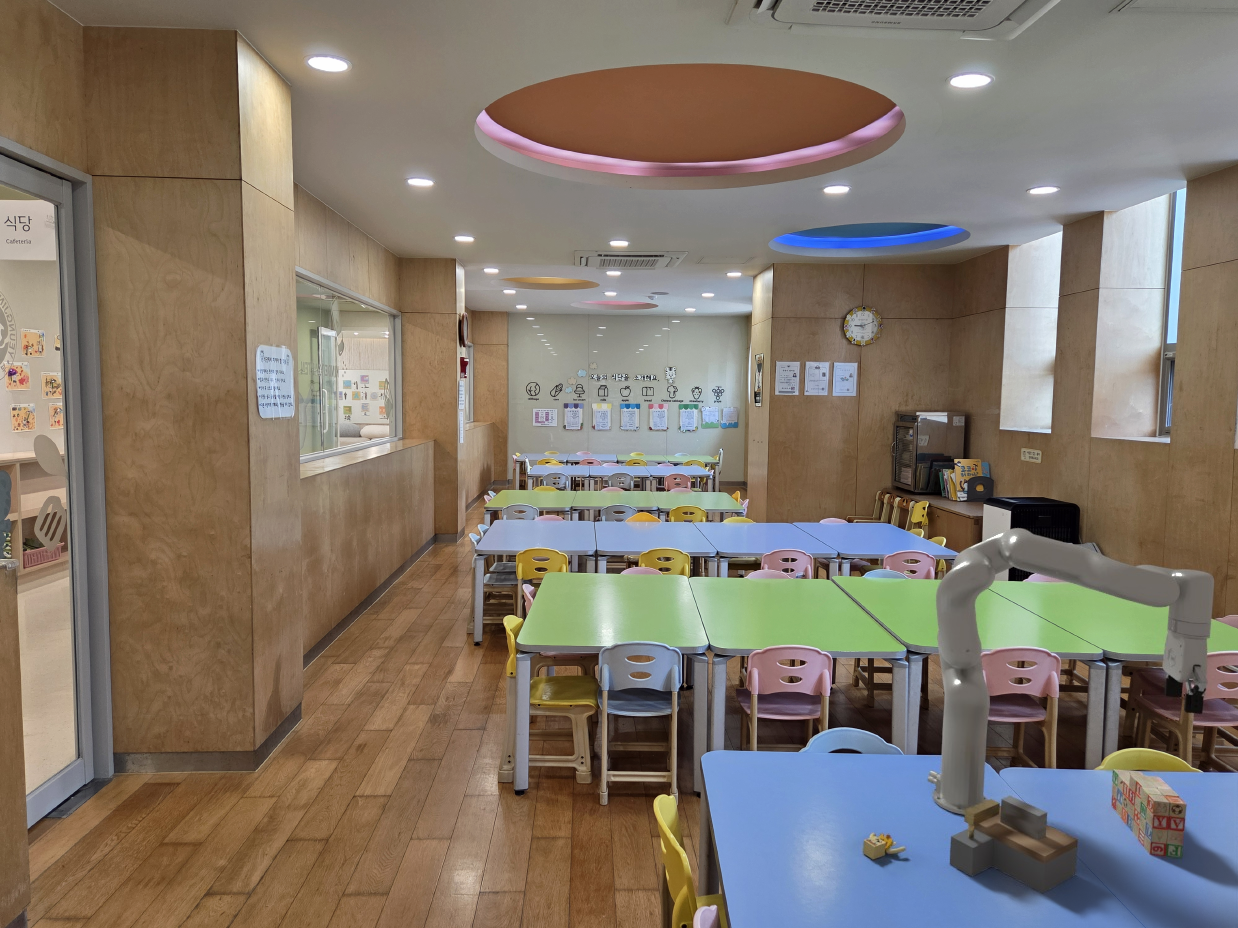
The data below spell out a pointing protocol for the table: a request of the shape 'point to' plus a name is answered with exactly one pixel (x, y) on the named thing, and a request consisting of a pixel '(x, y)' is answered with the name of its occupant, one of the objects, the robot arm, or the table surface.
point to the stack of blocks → (1150, 811)
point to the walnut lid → (1027, 831)
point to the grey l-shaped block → (1009, 861)
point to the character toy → (879, 846)
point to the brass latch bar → (980, 814)
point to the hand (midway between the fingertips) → (1182, 704)
